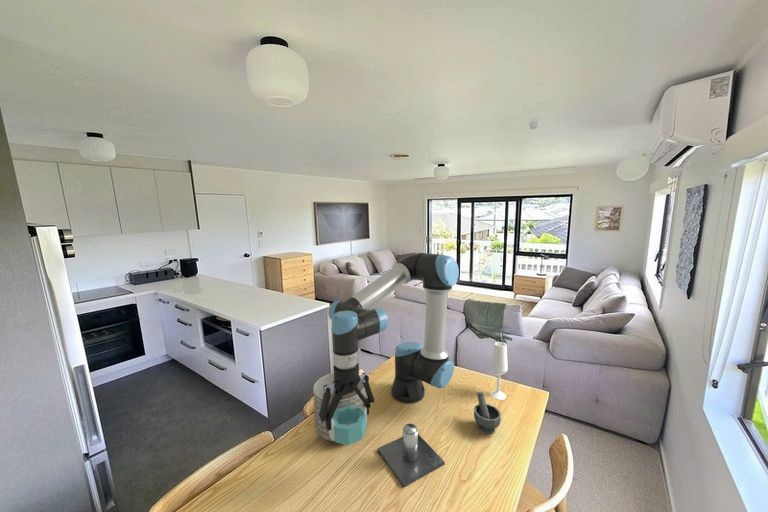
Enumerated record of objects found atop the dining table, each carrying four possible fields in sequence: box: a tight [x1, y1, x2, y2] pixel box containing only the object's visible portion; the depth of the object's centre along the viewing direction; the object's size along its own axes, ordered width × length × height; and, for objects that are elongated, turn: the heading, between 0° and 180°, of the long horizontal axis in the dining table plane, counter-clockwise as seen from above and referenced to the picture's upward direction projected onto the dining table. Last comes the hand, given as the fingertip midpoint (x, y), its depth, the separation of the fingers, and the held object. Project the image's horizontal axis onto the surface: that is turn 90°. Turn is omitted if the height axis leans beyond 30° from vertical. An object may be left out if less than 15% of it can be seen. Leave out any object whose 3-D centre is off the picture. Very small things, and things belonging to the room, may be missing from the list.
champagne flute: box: [490, 341, 509, 401], centre depth 130 cm, size 7×7×24 cm
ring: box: [332, 406, 367, 446], centre depth 90 cm, size 10×10×5 cm
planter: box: [313, 372, 367, 442], centre depth 110 cm, size 19×19×18 cm
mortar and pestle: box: [473, 391, 502, 435], centre depth 111 cm, size 11×9×12 cm
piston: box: [377, 423, 446, 488], centre depth 97 cm, size 16×16×11 cm
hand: (348, 430), depth 90 cm, fingers closed on ring, 10 cm apart
